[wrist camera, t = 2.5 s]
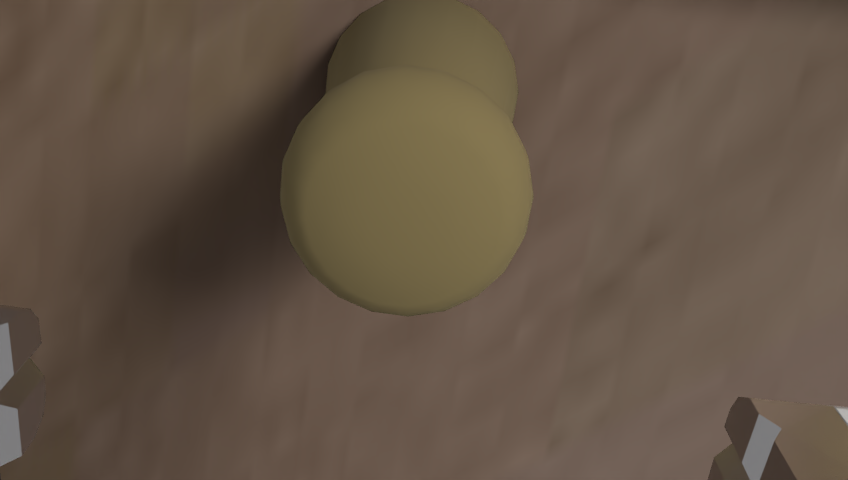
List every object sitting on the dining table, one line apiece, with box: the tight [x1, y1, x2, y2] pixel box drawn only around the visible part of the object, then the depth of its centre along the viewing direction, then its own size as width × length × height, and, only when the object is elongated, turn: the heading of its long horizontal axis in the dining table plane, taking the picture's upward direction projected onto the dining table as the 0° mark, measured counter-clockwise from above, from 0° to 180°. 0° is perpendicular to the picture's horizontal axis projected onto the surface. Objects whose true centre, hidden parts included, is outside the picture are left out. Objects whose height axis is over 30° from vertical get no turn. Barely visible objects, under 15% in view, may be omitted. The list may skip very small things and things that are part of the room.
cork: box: [280, 0, 533, 316], centre depth 20 cm, size 6×6×11 cm
